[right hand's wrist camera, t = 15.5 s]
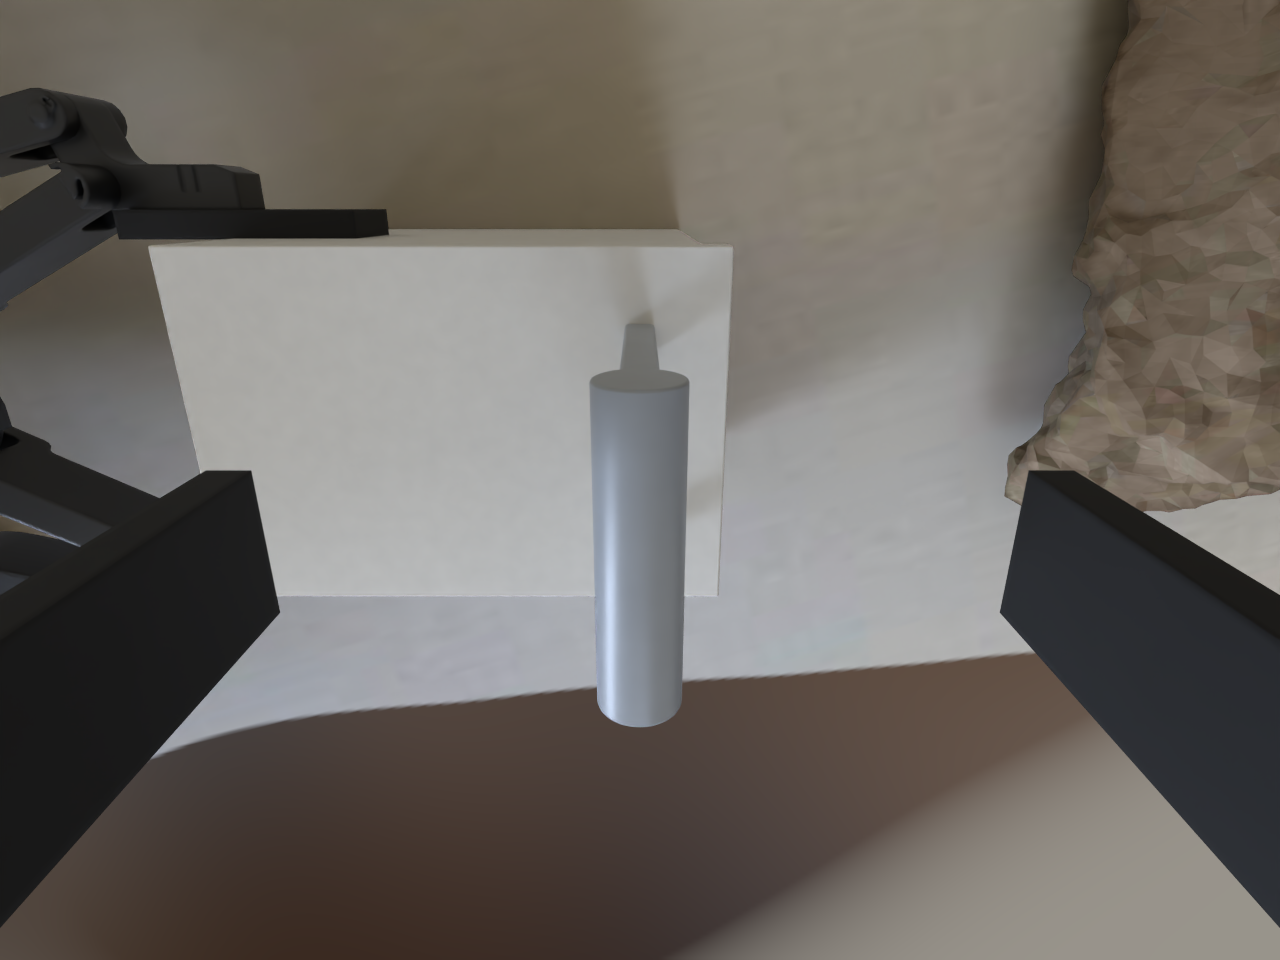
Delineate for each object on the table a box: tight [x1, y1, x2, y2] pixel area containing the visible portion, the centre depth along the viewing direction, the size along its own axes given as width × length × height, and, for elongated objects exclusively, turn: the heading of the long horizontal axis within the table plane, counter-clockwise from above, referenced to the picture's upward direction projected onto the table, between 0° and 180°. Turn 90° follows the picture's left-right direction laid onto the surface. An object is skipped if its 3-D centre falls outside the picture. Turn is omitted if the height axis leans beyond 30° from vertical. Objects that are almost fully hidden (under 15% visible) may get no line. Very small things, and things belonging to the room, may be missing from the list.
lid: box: [148, 244, 734, 727], centre depth 15 cm, size 13×9×8 cm
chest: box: [177, 229, 701, 244], centre depth 24 cm, size 13×9×11 cm
